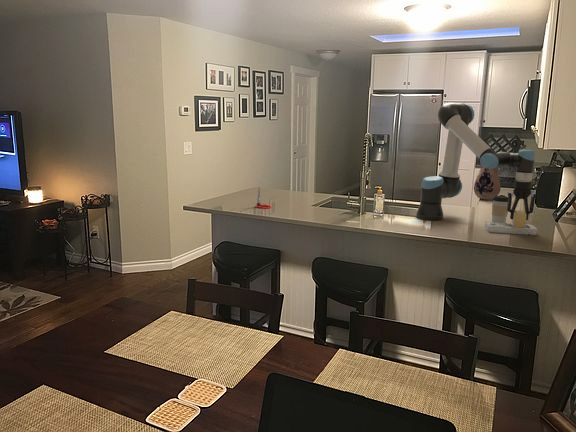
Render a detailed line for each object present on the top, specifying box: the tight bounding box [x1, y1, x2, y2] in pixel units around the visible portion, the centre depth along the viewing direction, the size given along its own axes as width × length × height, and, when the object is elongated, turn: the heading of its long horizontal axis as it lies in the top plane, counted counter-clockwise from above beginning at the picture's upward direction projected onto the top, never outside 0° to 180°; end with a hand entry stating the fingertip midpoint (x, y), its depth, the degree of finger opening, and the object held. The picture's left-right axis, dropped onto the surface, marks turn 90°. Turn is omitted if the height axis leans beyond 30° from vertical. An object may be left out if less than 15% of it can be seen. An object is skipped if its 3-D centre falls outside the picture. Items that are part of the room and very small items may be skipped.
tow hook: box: [254, 186, 272, 210], centre depth 297 cm, size 8×13×9 cm
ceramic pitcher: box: [473, 163, 501, 201], centre depth 340 cm, size 18×21×25 cm
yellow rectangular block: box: [514, 209, 526, 228], centre depth 246 cm, size 4×4×8 cm
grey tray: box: [484, 221, 538, 236], centre depth 249 cm, size 23×10×3 cm, turn 78°
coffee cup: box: [491, 194, 509, 223], centre depth 267 cm, size 9×9×15 cm
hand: (518, 225), depth 247 cm, fingers closed on yellow rectangular block, 4 cm apart
